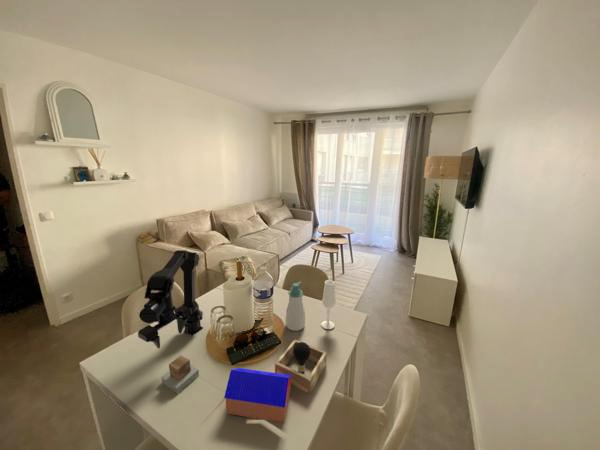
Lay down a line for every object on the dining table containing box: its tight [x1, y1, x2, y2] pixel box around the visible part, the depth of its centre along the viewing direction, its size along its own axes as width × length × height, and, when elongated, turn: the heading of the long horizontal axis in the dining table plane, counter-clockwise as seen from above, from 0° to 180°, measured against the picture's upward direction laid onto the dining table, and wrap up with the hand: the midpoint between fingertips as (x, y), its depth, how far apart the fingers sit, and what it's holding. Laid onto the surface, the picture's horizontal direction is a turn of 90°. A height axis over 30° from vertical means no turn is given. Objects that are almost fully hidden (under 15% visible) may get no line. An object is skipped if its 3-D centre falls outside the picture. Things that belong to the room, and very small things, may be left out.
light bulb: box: [293, 341, 310, 373], centre depth 94 cm, size 7×7×12 cm
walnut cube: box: [168, 355, 191, 381], centre depth 90 cm, size 5×5×5 cm
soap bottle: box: [285, 281, 306, 332], centre depth 120 cm, size 10×10×23 cm
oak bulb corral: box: [274, 339, 328, 395], centre depth 95 cm, size 15×15×6 cm
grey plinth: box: [161, 364, 200, 395], centre depth 91 cm, size 9×9×3 cm
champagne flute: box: [321, 279, 336, 330], centre depth 120 cm, size 7×7×24 cm
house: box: [223, 367, 292, 423], centre depth 82 cm, size 12×20×12 cm, turn 81°
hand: (169, 340), depth 95 cm, fingers open, 9 cm apart
